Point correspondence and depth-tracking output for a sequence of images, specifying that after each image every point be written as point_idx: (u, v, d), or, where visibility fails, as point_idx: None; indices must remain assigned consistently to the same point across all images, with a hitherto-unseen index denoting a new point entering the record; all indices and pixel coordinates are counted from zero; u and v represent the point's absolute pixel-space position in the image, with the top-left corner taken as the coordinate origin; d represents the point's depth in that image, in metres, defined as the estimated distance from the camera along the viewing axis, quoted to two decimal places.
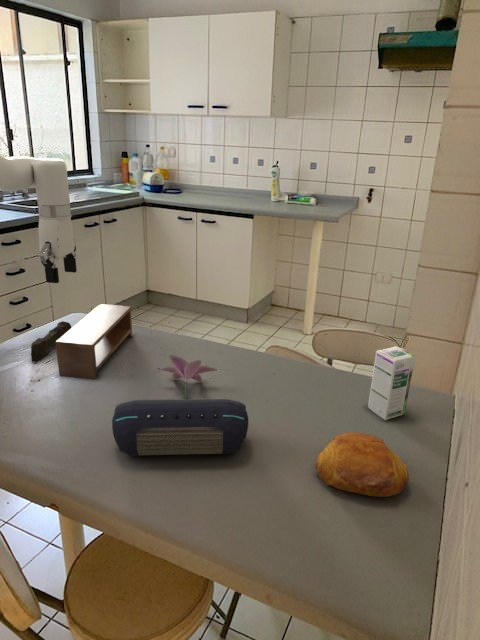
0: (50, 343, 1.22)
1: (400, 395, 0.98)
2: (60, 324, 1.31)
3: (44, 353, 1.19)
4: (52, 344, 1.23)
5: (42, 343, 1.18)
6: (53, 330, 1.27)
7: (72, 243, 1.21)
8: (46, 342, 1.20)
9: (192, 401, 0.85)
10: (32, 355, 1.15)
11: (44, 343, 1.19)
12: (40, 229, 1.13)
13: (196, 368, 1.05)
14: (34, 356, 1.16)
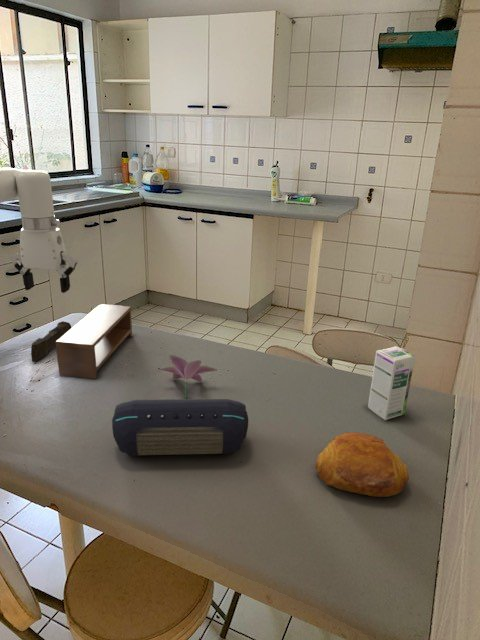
0: (50, 343, 1.22)
1: (400, 395, 0.98)
2: (60, 324, 1.31)
3: (44, 353, 1.19)
4: (52, 344, 1.23)
5: (42, 343, 1.18)
6: (53, 330, 1.27)
7: (50, 261, 1.14)
8: (46, 342, 1.20)
9: (192, 401, 0.85)
10: (32, 355, 1.15)
11: (44, 343, 1.19)
12: None
13: (196, 368, 1.05)
14: (34, 356, 1.16)
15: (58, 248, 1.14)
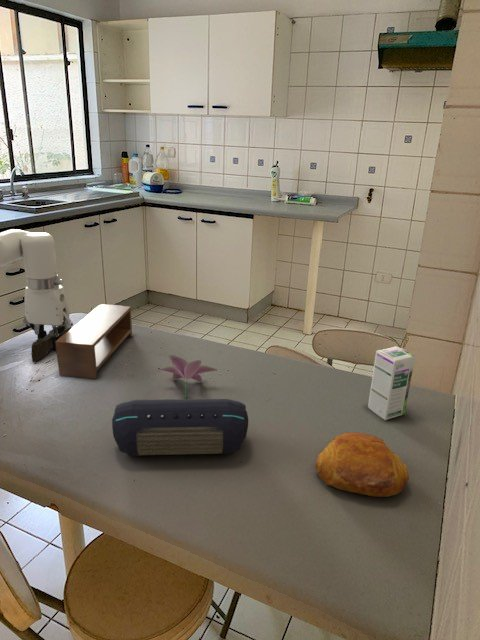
0: (51, 343, 1.22)
1: (400, 395, 0.98)
2: None
3: (44, 353, 1.19)
4: (52, 344, 1.23)
5: (43, 343, 1.18)
6: None
7: (53, 317, 1.19)
8: (46, 342, 1.20)
9: (192, 401, 0.85)
10: (33, 355, 1.15)
11: (44, 343, 1.19)
12: None
13: (196, 368, 1.05)
14: (34, 356, 1.16)
15: (61, 305, 1.19)
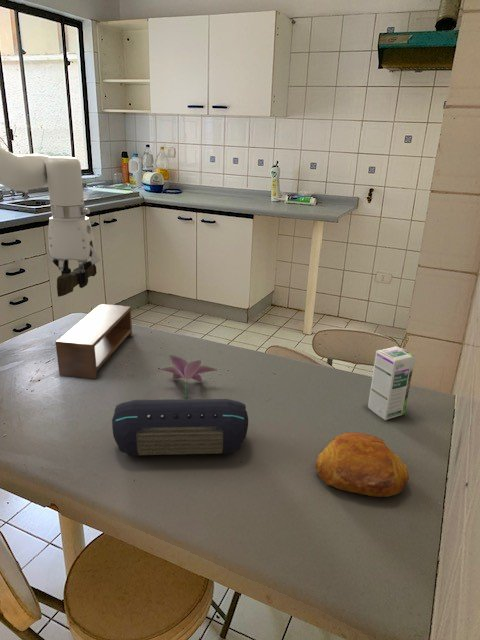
0: (76, 280, 1.14)
1: (400, 395, 0.98)
2: None
3: (70, 289, 1.11)
4: (78, 281, 1.15)
5: (68, 278, 1.10)
6: (78, 268, 1.18)
7: (80, 250, 1.11)
8: (72, 277, 1.11)
9: (192, 401, 0.85)
10: (58, 289, 1.07)
11: (70, 278, 1.10)
12: None
13: (196, 368, 1.05)
14: (60, 290, 1.07)
15: (87, 237, 1.10)
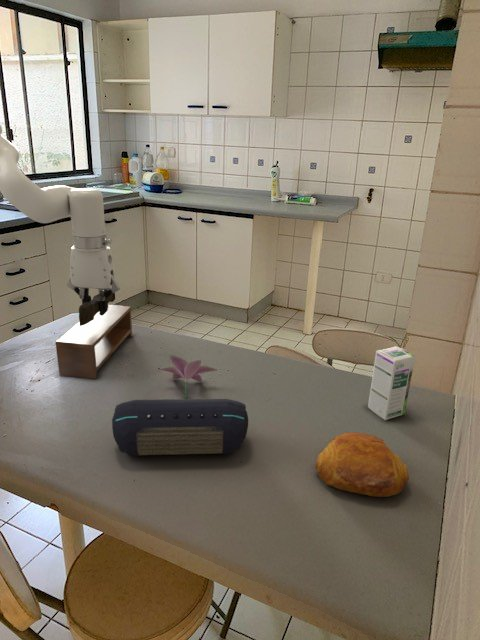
0: (97, 308, 1.15)
1: (400, 395, 0.98)
2: None
3: (91, 318, 1.13)
4: (98, 309, 1.16)
5: (90, 307, 1.11)
6: (98, 295, 1.20)
7: (101, 280, 1.12)
8: (93, 306, 1.13)
9: (192, 401, 0.85)
10: (80, 318, 1.09)
11: (91, 307, 1.12)
12: None
13: (196, 368, 1.05)
14: (82, 319, 1.09)
15: (109, 267, 1.12)
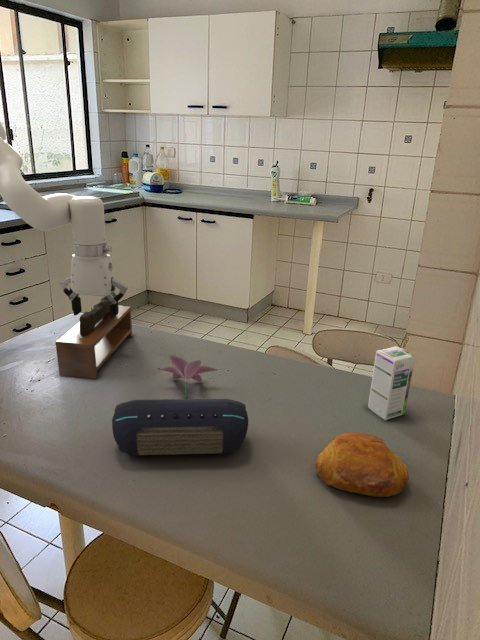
0: (97, 317, 1.16)
1: (400, 395, 0.98)
2: (104, 299, 1.25)
3: (92, 327, 1.14)
4: (99, 319, 1.17)
5: (90, 317, 1.12)
6: (98, 305, 1.21)
7: (101, 287, 1.13)
8: (94, 316, 1.14)
9: (192, 401, 0.85)
10: (81, 328, 1.10)
11: (92, 317, 1.13)
12: None
13: (196, 368, 1.05)
14: (83, 329, 1.10)
15: (109, 274, 1.13)
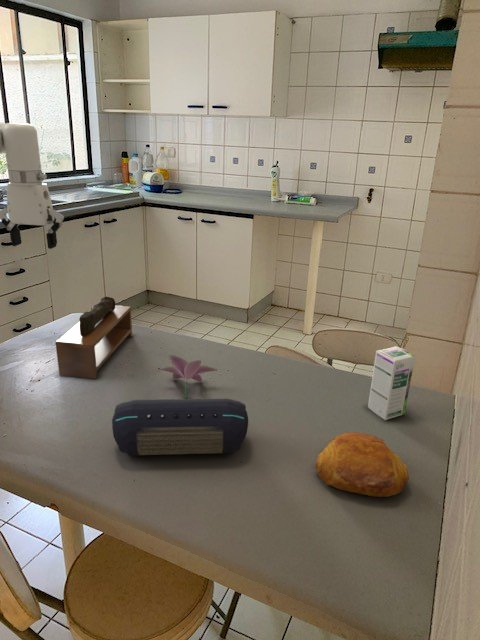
0: (97, 317, 1.16)
1: (400, 395, 0.98)
2: (104, 299, 1.25)
3: (92, 327, 1.14)
4: (99, 319, 1.17)
5: (90, 317, 1.12)
6: (98, 305, 1.21)
7: (37, 215, 1.15)
8: (94, 316, 1.14)
9: (192, 401, 0.85)
10: (81, 328, 1.10)
11: (92, 317, 1.13)
12: None
13: (196, 368, 1.05)
14: (83, 329, 1.10)
15: (45, 203, 1.14)
